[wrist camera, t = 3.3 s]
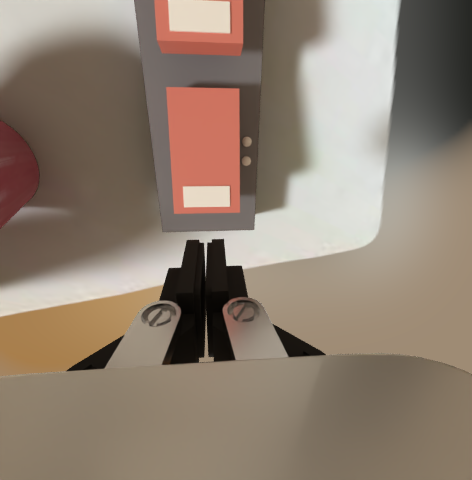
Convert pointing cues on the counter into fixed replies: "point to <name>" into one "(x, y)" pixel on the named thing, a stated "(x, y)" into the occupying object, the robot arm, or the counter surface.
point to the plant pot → (15, 173)
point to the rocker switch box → (204, 76)
